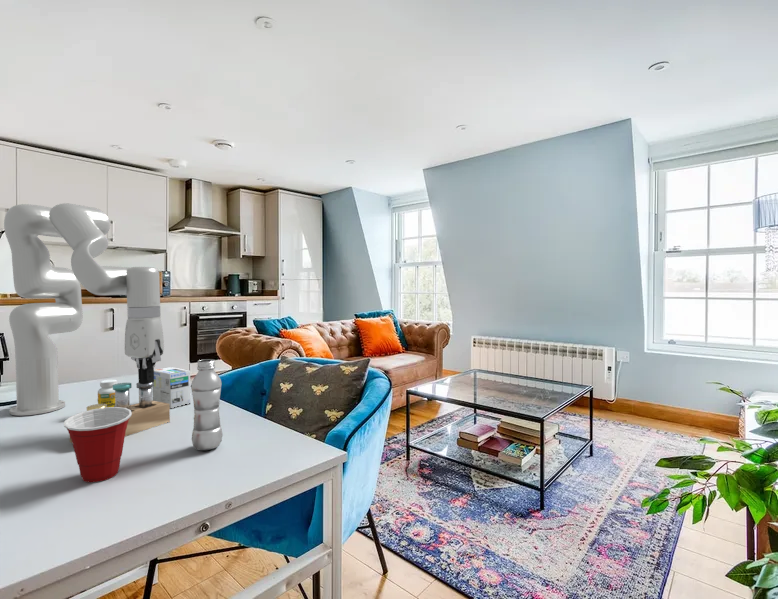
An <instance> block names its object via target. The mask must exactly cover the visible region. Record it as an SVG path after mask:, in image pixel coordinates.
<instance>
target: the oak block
mask: <svg viewBox="0 0 778 599" xmlns="http://www.w3.org/2000/svg"><path fill="white" fill-rule="evenodd" d="M130 410H131V412H132V415H131V417H130V418H129V420H128V424H127V429H126V432H125V437H128V436H130V435H131V436H132V435H134V434H137V433H140V431H141V432H143V430H144V431H148V430H149V428H150V429H153V428H156V427H158V426H162V425H165V424H168V423H171V422H170V421H171V416H170V415H171V414H170V413H171V411H170V410H171V409H170V405H169V404H168V403H163V402H158V401H153V399H152V406H151V407H148V408H144V409H142V408H139V402H138V403H135V404H131V405H130ZM167 422H168V423H167ZM164 423H165V424H164ZM161 424H162V425H161ZM155 426H156V427H155ZM152 427H153V428H152ZM68 434H69V433H68ZM68 437H69V443H70V444H73V443H72V439H71V437H70V434H69V435H68Z"/></svg>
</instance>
